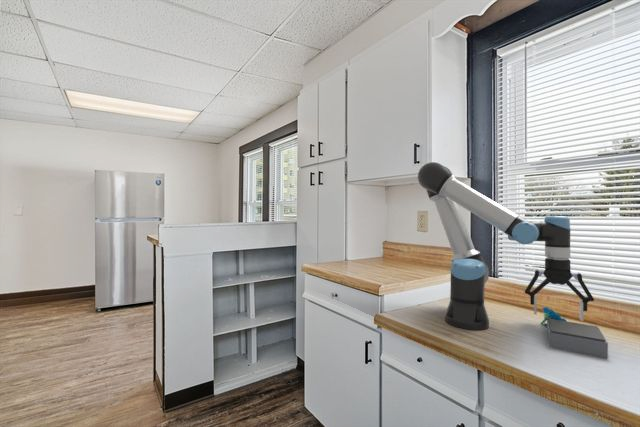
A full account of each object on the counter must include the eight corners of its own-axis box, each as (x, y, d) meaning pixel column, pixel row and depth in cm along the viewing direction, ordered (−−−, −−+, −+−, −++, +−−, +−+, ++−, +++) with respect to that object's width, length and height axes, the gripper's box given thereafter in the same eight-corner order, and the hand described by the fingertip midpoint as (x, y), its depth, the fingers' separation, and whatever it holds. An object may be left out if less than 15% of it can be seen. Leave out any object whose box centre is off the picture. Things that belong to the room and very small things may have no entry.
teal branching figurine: (578, 329, 113) (555, 307, 114) (566, 341, 113) (543, 319, 114) (559, 323, 123) (538, 303, 125) (548, 334, 123) (527, 314, 125)
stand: (548, 346, 102) (548, 330, 102) (546, 332, 114) (546, 317, 114) (607, 358, 94) (607, 341, 94) (598, 341, 107) (599, 326, 107)
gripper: (600, 259, 115) (600, 319, 115) (517, 255, 129) (518, 308, 129) (604, 262, 109) (604, 325, 109) (517, 257, 122) (517, 313, 122)
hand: (557, 316), depth 119 cm, fingers open, 13 cm apart
